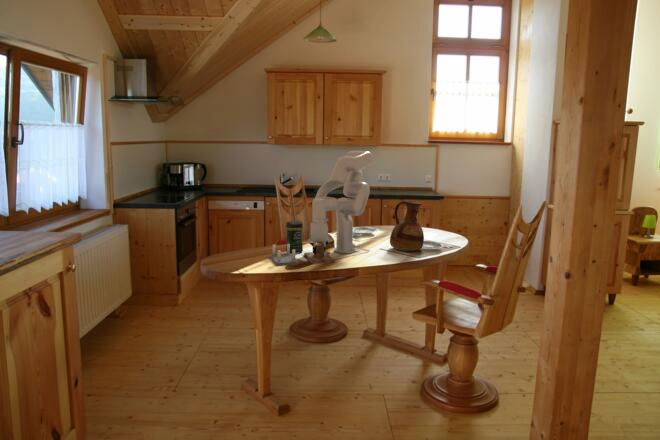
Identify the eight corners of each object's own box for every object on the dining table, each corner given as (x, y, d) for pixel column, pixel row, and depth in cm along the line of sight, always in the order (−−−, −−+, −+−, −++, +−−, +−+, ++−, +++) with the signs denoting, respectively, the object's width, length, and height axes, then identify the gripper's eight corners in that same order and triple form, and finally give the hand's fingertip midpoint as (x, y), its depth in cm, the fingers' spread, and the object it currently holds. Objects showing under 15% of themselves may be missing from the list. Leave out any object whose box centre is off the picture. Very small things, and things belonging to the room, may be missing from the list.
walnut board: (324, 254, 300) (324, 241, 299) (334, 262, 282) (334, 248, 280) (304, 255, 297) (304, 242, 296) (312, 263, 278) (312, 250, 277)
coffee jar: (290, 254, 298) (289, 222, 295) (284, 251, 305) (283, 220, 301) (305, 252, 303) (305, 221, 300) (298, 250, 310) (298, 219, 306)
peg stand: (290, 255, 295) (290, 242, 294) (298, 264, 276) (298, 250, 275) (269, 257, 292) (269, 244, 290) (276, 266, 273) (276, 252, 271)
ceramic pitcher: (423, 254, 301) (424, 203, 295) (388, 252, 305) (389, 201, 299) (423, 247, 320) (425, 198, 314) (390, 245, 323) (392, 197, 318)
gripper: (331, 219, 292) (331, 251, 295) (302, 220, 287) (302, 252, 290) (335, 221, 285) (335, 254, 288) (306, 222, 280) (305, 256, 283)
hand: (318, 253), depth 289 cm, fingers closed on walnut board, 4 cm apart
